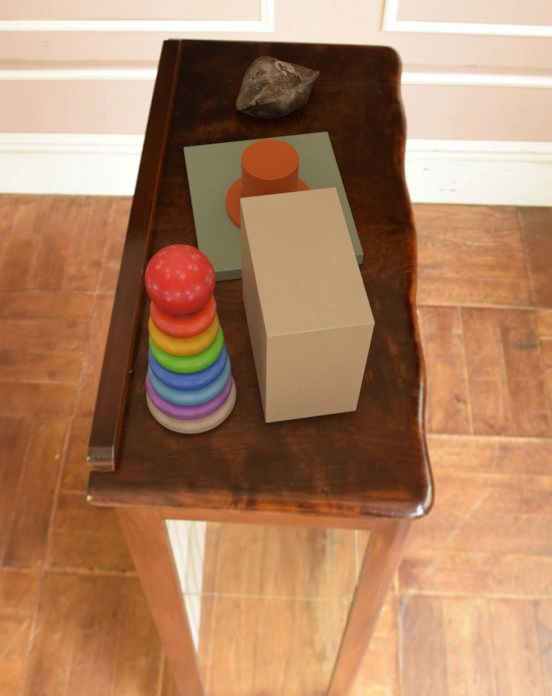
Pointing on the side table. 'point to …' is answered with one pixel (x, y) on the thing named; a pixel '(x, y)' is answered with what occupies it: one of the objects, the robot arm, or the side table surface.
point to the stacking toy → (186, 343)
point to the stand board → (225, 168)
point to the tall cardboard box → (303, 304)
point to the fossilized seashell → (274, 88)
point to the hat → (265, 174)
